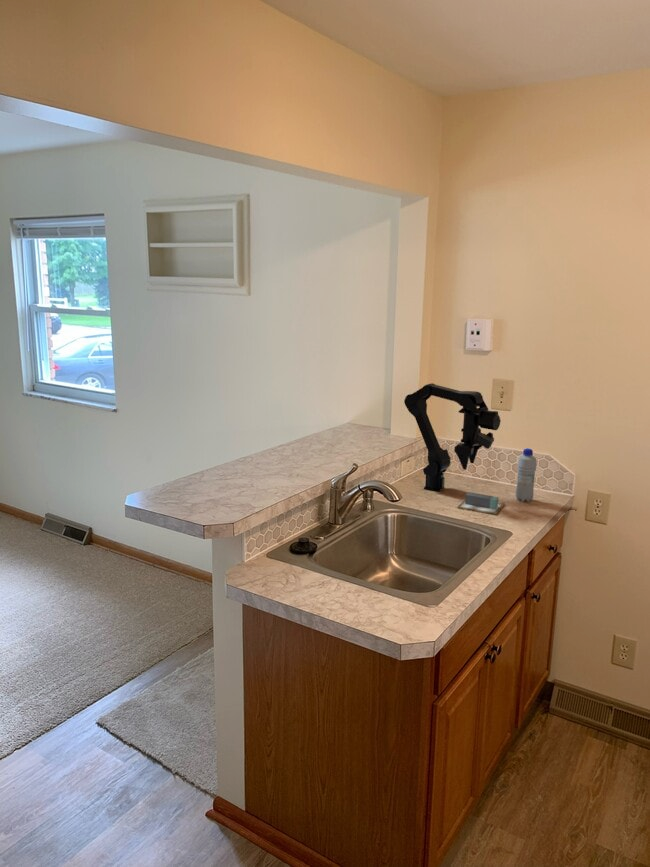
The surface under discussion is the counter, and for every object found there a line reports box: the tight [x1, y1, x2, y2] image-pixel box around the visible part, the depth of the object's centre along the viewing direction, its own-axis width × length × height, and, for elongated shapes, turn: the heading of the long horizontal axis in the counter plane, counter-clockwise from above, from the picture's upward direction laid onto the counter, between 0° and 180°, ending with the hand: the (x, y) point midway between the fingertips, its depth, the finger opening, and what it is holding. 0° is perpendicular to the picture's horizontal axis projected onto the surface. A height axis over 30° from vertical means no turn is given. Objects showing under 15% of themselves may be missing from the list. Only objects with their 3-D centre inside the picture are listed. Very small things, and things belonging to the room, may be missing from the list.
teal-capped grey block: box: [464, 491, 499, 509], centre depth 242 cm, size 11×4×4 cm, turn 61°
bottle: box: [515, 448, 537, 503], centre depth 247 cm, size 7×7×20 cm
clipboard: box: [457, 498, 506, 516], centre depth 243 cm, size 14×12×1 cm
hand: (468, 466), depth 250 cm, fingers open, 9 cm apart
